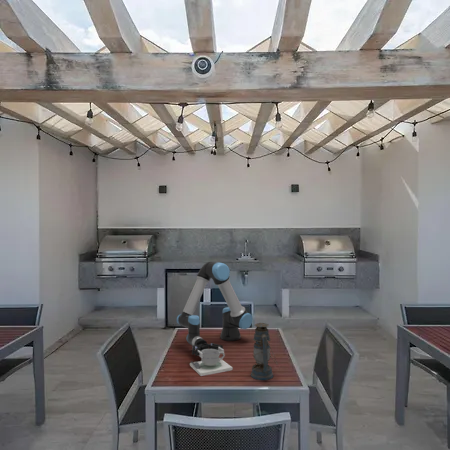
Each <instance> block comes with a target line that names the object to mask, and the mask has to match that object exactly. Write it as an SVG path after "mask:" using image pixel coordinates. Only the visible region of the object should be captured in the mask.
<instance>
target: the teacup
mask: <svg viewBox="0 0 450 450" xmlns="http://www.w3.org/2000/svg"><path fill="white" fill-rule="evenodd" d="M201 352H202V353H203V358H201V357H200V359H201V360H200V361H202V362H203V363H204V364H205V365H207V366H213V365H216V363H218V362H219V361H220V360H221V359H222V360H223V359H224V358H225V356H226V353H225V351H224V352H222V351H221V352H219V351H218V350H216V349H209V348H208V349H204V350H202V351H201ZM221 353H223V354H221ZM220 355H222V356H221V357H220Z"/></svg>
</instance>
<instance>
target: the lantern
mask: <svg viewBox="0 0 450 450" xmlns="http://www.w3.org/2000/svg"><path fill="white" fill-rule="evenodd" d="M254 326H255V327H256V328H255V329H254V332H255V333H254V334H253V339H252V341H255V342H254V344H253V351H252V357H253V359H254V360H255V364H253V365H252V368H251V373H250V377H251V379H253V380H254V379H255V380H257V381H268V380H271V379H273V378H274V373H273V368H272V366H271V365H269V361H270V359H272V361H273V362H274V363H275V364H276V365H277V366H278V365H279V363H278V361H277V358H276V357H275V354H274V352H273V350H272V347H271V344H270V343H269V342H270V341H271V340H272V339H271V338H270V333H269V332H270V331H269V329H268V327H269V326H270V325H269V323H266V322H265V323H264V322H259V323H254ZM271 354H272V355H273V357H272V355H271ZM273 358H274V359H273Z"/></svg>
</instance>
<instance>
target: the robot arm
mask: <svg viewBox="0 0 450 450" xmlns="http://www.w3.org/2000/svg"><path fill="white" fill-rule="evenodd" d="M230 273H231V271H230V267H229V266H228V265H227V264H226V263H223V262H219V261H218V262H216V261H207V262H206V263H204V264H203V265H202V266H201V268H200V269H199V271H198V273H197V275H196V281H195V283H194V286H193V288H192V290H191V292H190V294H189V297H188V299H187V301H186V303H185V305H184V308H183V310H182V312H181V313H180V314H178V315H177V317H176V323H177V324H178V325H179V326H180V327H184V328H186V329H187V330H188V331H187V332H188V333H187V335H186V341H187V343H188V344H189V345H191V347H192V349H191V355H192V356H195V357H197V356H198V357H199V358H200V359H201V358H203V353H202V352H201V351H202V350H204V349H216V350H218V351H219V352H221V351H222V352H224V353H225V349H224V345H221V344H217V343H214V342H210V343H208V342H207V341H206V339H204V338H203V337H201V336H200V334H201V331H200V328H201V326H200V324H201V323H200V322H201V321H200V316H199V315H196V314H194V313H195V311H196V309H197V306H198V305H199V302H200V300H201V298H202V295H203V293H204V291H205V288H206V286H207V285H208V283H209V282H210V281H211V279H212V281H213V283H214V285H215V286H218V289H219V291H220V292H221V295H222V297H223V298H224V300H225V302H226V304H227V306H226V307H224V308H223V309H222V330H221V332H220V337H219V338H220V339H221V340H222V341H226V342H229V341H230V342H231V341H232V342H234V341H238V340H240V339H241V332H240V330H239V329H242V330H248V329H249V328H250V327H251V325H252V323H253V316H252V314H251V313H249V312H248V311H247V310H246V307H245V306H242V304H241V302H240V300H239V298H238V296H237V294H236V292H235V290H234V287H233V286H232V283H231V282H230V279H231V276H230ZM220 355H223V353H221V354H220Z"/></svg>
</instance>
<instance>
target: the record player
mask: <svg viewBox="0 0 450 450" xmlns="http://www.w3.org/2000/svg"><path fill="white" fill-rule="evenodd" d="M189 366H190V367H191V368H192V369H193V370H194V371H195V372H196V373H197V374H198V375H199V376H200V377H202V376H203V377H204V376H210V375H214V374H219V373H224V372H229V371H233V366H231V365H230V363H227V362H226V361H224V360H223V359H221V360H220V361H219V362H218V363H216V365H213V366H207V365H205V364H204V363H203V362H202V360H200V361H194V362H193V361H192V360H191V361H190V362H189Z"/></svg>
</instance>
